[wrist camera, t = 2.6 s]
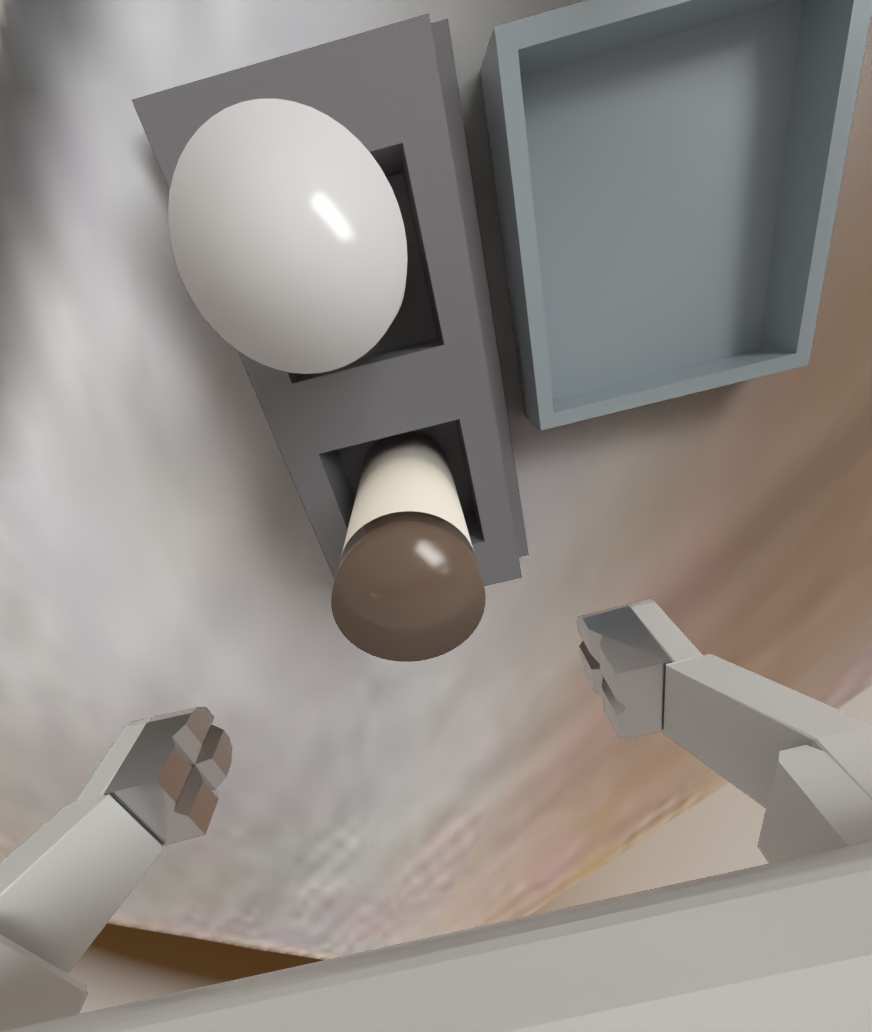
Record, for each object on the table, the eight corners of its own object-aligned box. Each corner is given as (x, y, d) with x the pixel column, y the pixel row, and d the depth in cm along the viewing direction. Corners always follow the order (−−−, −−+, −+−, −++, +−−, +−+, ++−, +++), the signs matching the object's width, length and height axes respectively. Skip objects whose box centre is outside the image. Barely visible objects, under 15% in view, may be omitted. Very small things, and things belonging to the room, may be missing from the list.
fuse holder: (155, 120, 14) (71, 58, 10) (444, 37, 14) (459, -57, 10) (347, 586, 23) (336, 637, 20) (523, 544, 23) (545, 589, 19)
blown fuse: (439, 421, 18) (470, 522, 10) (457, 501, 20) (496, 643, 12) (351, 443, 18) (307, 560, 10) (377, 520, 20) (359, 674, 12)
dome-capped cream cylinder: (388, 202, 15) (368, 64, 6) (416, 324, 17) (430, 345, 8) (280, 231, 15) (117, 137, 6) (319, 349, 17) (233, 395, 8)
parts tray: (809, -24, 14) (889, -88, 11) (761, 357, 19) (808, 365, 17) (480, 69, 14) (494, 26, 12) (525, 416, 20) (540, 430, 17)
